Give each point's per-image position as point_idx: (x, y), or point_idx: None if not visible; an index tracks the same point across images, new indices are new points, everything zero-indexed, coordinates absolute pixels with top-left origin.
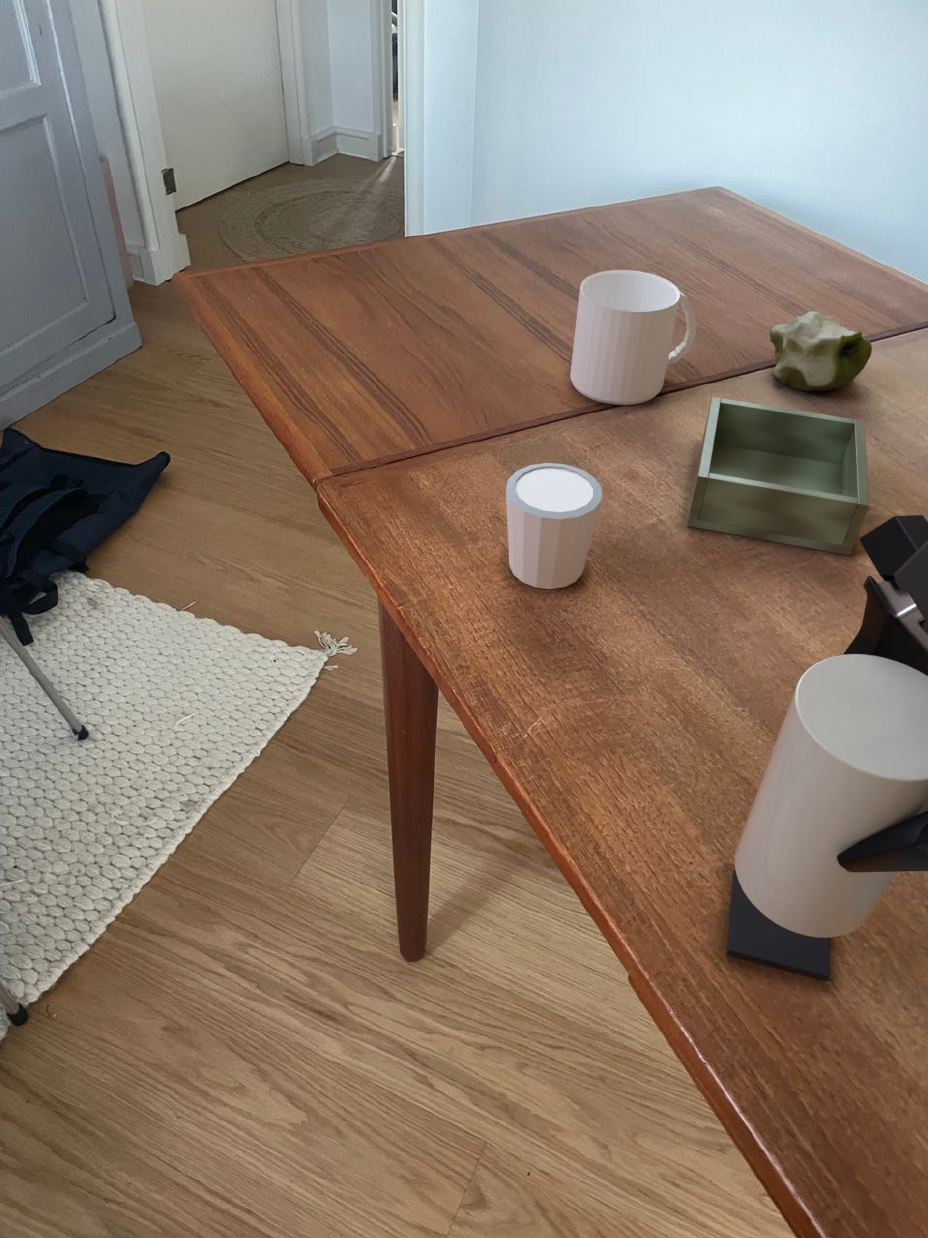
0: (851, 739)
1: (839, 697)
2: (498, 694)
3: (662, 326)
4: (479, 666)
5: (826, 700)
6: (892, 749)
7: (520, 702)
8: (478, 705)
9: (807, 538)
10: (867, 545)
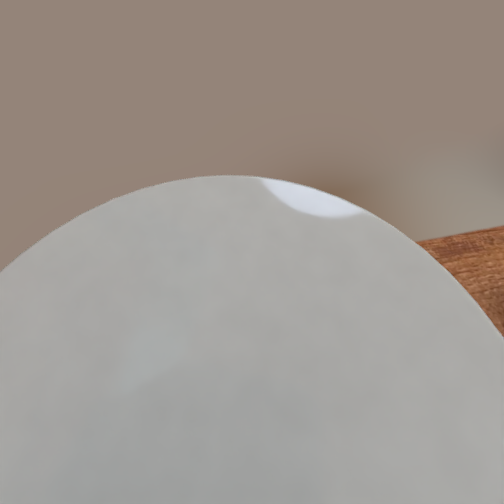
0: (155, 254)
1: (322, 310)
2: (465, 257)
3: None
4: (494, 251)
5: (316, 264)
6: (60, 364)
7: (459, 269)
8: (453, 241)
9: None
10: None
